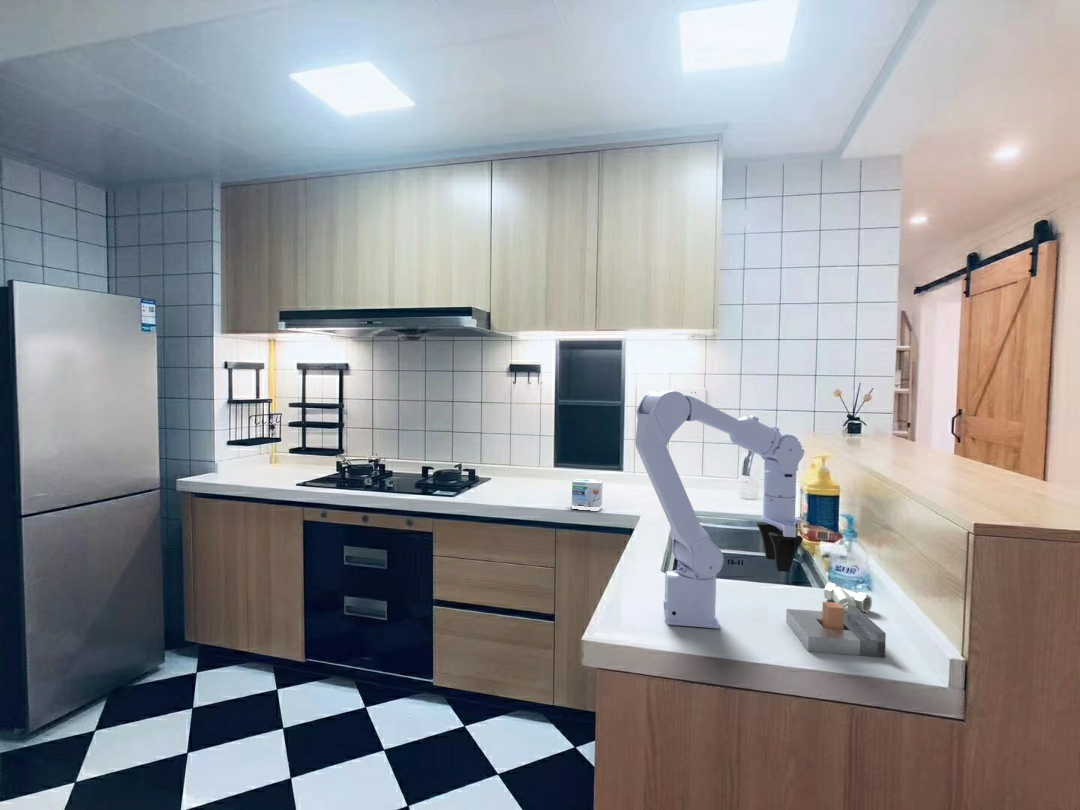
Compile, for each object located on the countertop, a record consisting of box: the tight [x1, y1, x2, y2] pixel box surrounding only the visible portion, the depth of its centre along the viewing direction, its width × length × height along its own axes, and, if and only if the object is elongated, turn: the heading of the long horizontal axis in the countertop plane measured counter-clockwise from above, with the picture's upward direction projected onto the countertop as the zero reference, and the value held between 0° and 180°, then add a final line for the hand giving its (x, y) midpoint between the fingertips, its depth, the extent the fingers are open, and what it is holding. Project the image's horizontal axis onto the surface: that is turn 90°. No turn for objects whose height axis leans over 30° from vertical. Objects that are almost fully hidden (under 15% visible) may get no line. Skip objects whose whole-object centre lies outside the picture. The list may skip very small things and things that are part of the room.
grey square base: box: [785, 605, 887, 658], centre depth 97 cm, size 12×12×4 cm
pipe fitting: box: [823, 582, 873, 613], centre depth 112 cm, size 8×4×7 cm
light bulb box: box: [571, 478, 603, 507], centre depth 203 cm, size 11×7×11 cm, turn 77°
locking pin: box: [822, 601, 844, 630], centre depth 97 cm, size 3×3×6 cm
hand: (777, 564), depth 107 cm, fingers open, 7 cm apart
